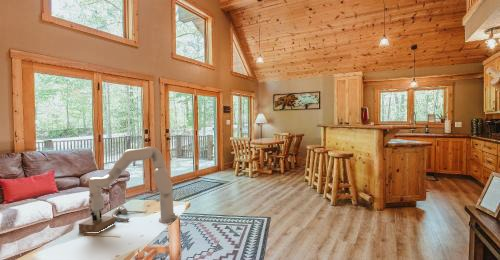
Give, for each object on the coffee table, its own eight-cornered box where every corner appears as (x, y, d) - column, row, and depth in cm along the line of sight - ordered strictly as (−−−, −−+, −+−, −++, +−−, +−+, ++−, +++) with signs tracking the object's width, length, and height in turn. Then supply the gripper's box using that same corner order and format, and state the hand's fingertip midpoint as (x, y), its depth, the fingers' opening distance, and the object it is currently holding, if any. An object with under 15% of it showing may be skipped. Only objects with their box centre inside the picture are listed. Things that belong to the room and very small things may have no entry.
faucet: (151, 212, 226) (138, 224, 199) (118, 210, 225) (101, 222, 197) (151, 206, 226) (139, 218, 198) (118, 204, 225) (102, 216, 197)
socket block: (115, 224, 193) (114, 216, 193) (97, 233, 178) (97, 225, 178) (97, 223, 197) (97, 215, 197) (79, 232, 182) (78, 223, 182)
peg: (101, 221, 189) (100, 205, 188) (97, 223, 185) (96, 207, 185) (97, 221, 190) (96, 205, 189) (93, 223, 186) (92, 207, 186)
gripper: (90, 197, 178) (91, 224, 178) (108, 191, 194) (110, 215, 194) (81, 197, 180) (82, 223, 180) (100, 191, 196) (102, 214, 196)
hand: (97, 218), depth 187 cm, fingers closed on peg, 3 cm apart
